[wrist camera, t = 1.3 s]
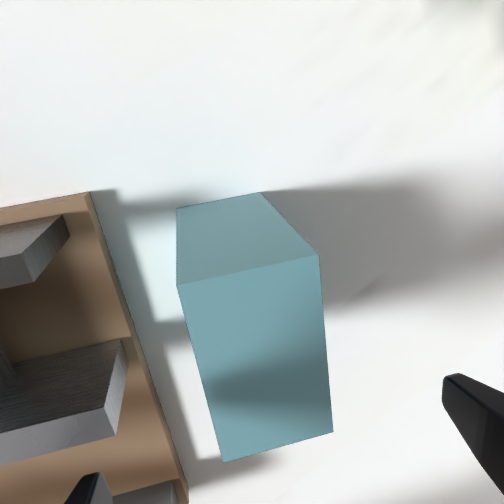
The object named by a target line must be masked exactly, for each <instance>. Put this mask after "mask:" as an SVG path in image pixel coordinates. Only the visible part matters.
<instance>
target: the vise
mask: <svg viewBox="0 0 504 504" xmlns="http://www.w3.org/2000/svg"><path fill="white" fill-rule="evenodd" d="M59 214H63V217H64V220H65V222H66V225H67V228H68V230H69V233H70V238H69V239H68V240H67V241H66V243H65V244H64V245H63V246H62V248H61V249H60V250H59V251H58V253H57V254H56V255H55V256H54V258H53V259H52V260H51V261H50V263H49V264H48V265H47V266H46V268H45V269H44V270H43V271H42V273H41V274H40V275H39V276H38V278H37V279H36V280H35V281H34V282H33V283H28V284H23V285H19V286H14V287H9V288H4V289H0V345H1V347H2V349H3V351H4V352H5V354H6V356H7V358H8V360H9V362H10V364H15V363H19V362H23V361H28V360H32V359H36V358H40V357H45V356H49V355H53V354H58V353H62V352H66V351H70V350H75V349H79V348H83V347H88V346H92V345H96V344H100V343H105V342H109V341H113V340H118V339H121V342H122V345H123V347H124V350H125V353H126V356H127V359H128V361H129V367H128V372H127V378H126V383H125V388H124V394H123V399H122V405H121V410H120V416H119V421H118V427H117V432H116V436H113V437H109V438H105V439H101V440H97V441H94V442H90V443H86V444H82V445H78V446H75V447H71V448H67V449H63V450H59V451H56V452H52V453H48V454H44V455H40V456H37V457H33V458H29V459H25V460H21V461H18V462H14V463H10V464H6V465H2V466H0V504H63V503H64V502H65V501H66V499H67V498H68V496H69V495H70V493H71V492H72V490H73V489H74V487H75V486H76V484H77V483H78V481H79V480H80V479H81V478H82V477H83V476H84V475H87V474H91V473H95V472H101V473H102V474H103V476H104V478H105V481H106V483H107V485H108V487H109V489H110V491H111V494H112V501H113V504H189V497H188V486H187V483H186V480H185V477H184V474H183V471H182V468H181V465H180V462H179V459H178V456H177V453H176V450H175V447H174V444H173V441H172V438H171V435H170V432H169V429H168V426H167V423H166V420H165V417H164V414H163V411H162V408H161V405H160V402H159V399H158V396H157V393H156V390H155V387H154V384H153V381H152V378H151V375H150V372H149V370H148V367H147V364H146V361H145V358H144V355H143V352H142V349H141V346H140V343H139V340H138V337H137V334H136V331H135V328H134V325H133V322H132V319H131V316H130V313H129V310H128V307H127V304H126V301H125V298H124V295H123V292H122V289H121V286H120V283H119V280H118V277H117V274H116V271H115V268H114V265H113V262H112V259H111V256H110V253H109V250H108V247H107V244H106V241H105V238H104V235H103V232H102V229H101V226H100V223H99V220H98V217H97V214H96V211H95V208H94V205H93V202H92V199H91V196H90V193H89V192H84V193H79V194H74V195H68V196H63V197H57V198H52V199H47V200H41V201H36V202H31V203H25V204H20V205H14V206H9V207H4V208H0V226H1V225H6V224H12V223H17V222H22V221H27V220H33V219H38V218H43V217H48V216H54V215H59Z"/></svg>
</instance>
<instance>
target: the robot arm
mask: <svg viewBox="0 0 504 504" xmlns="http://www.w3.org/2000/svg"><path fill="white" fill-rule="evenodd" d="M442 403H443V406H444V408H445V410H446V411H447V413H448V415H449V416H450V418H451V419H452V421H453V422H454V424H455V426H456V427H457V429H458V430H459V432H460V434H461V435H462V437H463V438H464V440H465V441H466V443H467V445H468V446H469V448H470V449H471V451H472V453H473V454H474V456H475V457H476V459H477V460H478V462H479V463H480V465H481V466H482V467H483V469H484V470H485V471H486V473H487V474H488V475H489V477H490V478H491V479H492V481H493V482H494V483H495V484H496V486H497V487H498V488H499V490H500V491H501V492H502V494H503V495H504V393H503V392H500V391H498V390H496V389H494V388H492V387H489V386H487V385H485V384H483V383H481V382H478V381H476V380H474V379H472V378H470V377H467V376H465V375H463V374H460V373H456V374H452V375H448V376H445V377H444V379H443V387H442ZM63 504H113V501H112V494H111V491H110V489H109V487H108V485H107V483H106V481H105V478H104V476H103V474H102V473H101V472H95V473H91V474H87V475H84V476H83V477H82V478H81V479H80V480H79V481H78V483H77V484H76V486H75V487H74V489H73V490H72V492H71V493H70V495H69V496H68V498H67V499H66V501H65V502H64V503H63Z"/></svg>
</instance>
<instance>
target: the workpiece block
mask: <svg viewBox="0 0 504 504" xmlns="http://www.w3.org/2000/svg"><path fill="white" fill-rule="evenodd" d="M176 286H177V290H178V294H179V297H180V301H181V305H182V309H183V313H184V316H185V320H186V324H187V328H188V331H189V335H190V339H191V343H192V347H193V350H194V354H195V358H196V362H197V366H198V369H199V373H200V377H201V381H202V384H203V388H204V392H205V396H206V400H207V403H208V407H209V411H210V415H211V418H212V422H213V426H214V430H215V434H216V437H217V441H218V445H219V449H220V452H221V456H222V460H223V463H225V462H228V461H232V460H235V459H239V458H242V457H246V456H250V455H253V454H257V453H260V452H264V451H267V450H271V449H274V448H278V447H282V446H285V445H289V444H292V443H296V442H299V441H303V440H306V439H310V438H314V437H317V436H321V435H324V434H328V433H331V432H333V423H332V411H331V399H330V387H329V375H328V363H327V351H326V339H325V327H324V315H323V303H322V291H321V279H320V267H319V255H318V254H317V252H316V251H315V250H314V249H313V248H312V247H311V246H310V245H309V244H308V243H307V242H306V241H305V240H304V239H303V238H302V237H301V235H300V234H299V233H298V232H297V231H296V230H295V229H294V228H293V227H292V226H291V225H290V224H289V223H288V222H287V221H286V220H285V219H284V217H283V216H282V215H281V214H280V213H279V212H278V211H277V210H276V209H275V208H274V207H273V206H272V205H271V204H270V203H269V202H268V200H267V199H266V198H265V197H264V196H263V195H262V194H261V193H260V192H257V193H252V194H247V195H242V196H237V197H232V198H227V199H222V200H217V201H211V202H206V203H201V204H196V205H191V206H186V207H181V208H176Z"/></svg>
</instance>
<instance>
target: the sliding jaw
mask: <svg viewBox="0 0 504 504" xmlns="http://www.w3.org/2000/svg"><path fill="white" fill-rule="evenodd" d="M69 238H70V233H69V230H68V228H67V225H66V222H65V220H64V217H63V214H59V215H54V216H48V217H43V218H38V219H33V220H27V221H22V222H17V223H12V224H6V225H1V226H0V289H4V288H9V287H14V286H19V285H23V284H28V283H33V282H34V281H35V280H36V279H37V278H38V276H39V275H40V274H41V273H42V271H43V270H44V269H45V268H46V266H47V265H48V264H49V263H50V261H51V260H52V259H53V258H54V256H55V255H56V254H57V253H58V251H59V250H60V249H61V248H62V246H63V245H64V244H65V243H66V241H67V240H68V239H69ZM128 367H129V361H128V359H127V356H126V353H125V350H124V347H123V345H122V342H121V339H118V340H113V341H109V342H105V343H100V344H96V345H92V346H88V347H83V348H79V349H75V350H70V351H66V352H62V353H58V354H53V355H49V356H45V357H40V358H36V359H32V360H28V361H23V362H19V363H15V364H10V362H9V360H8V358H7V356H6V354H5V352H4V351H3V349H2V347H1V345H0V466H2V465H6V464H10V463H14V462H18V461H21V460H25V459H29V458H33V457H37V456H40V455H44V454H48V453H52V452H56V451H59V450H63V449H67V448H71V447H75V446H78V445H82V444H86V443H90V442H94V441H97V440H101V439H105V438H109V437H113V436H116V432H117V427H118V421H119V416H120V410H121V405H122V399H123V394H124V388H125V383H126V378H127V372H128Z"/></svg>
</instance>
